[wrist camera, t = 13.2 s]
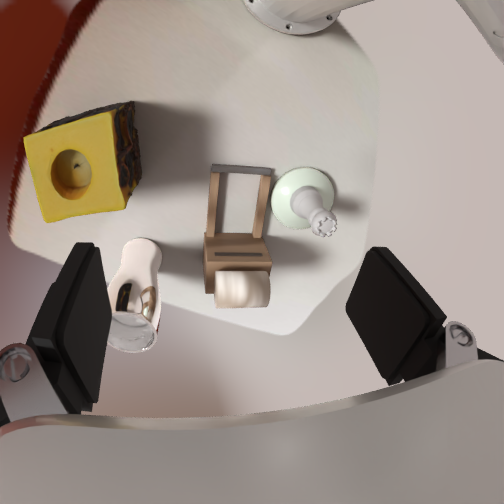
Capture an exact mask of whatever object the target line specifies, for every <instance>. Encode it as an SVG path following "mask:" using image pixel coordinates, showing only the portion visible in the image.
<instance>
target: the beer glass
mask: <svg viewBox="0 0 504 504" xmlns="http://www.w3.org/2000/svg"><path fill="white" fill-rule="evenodd" d="M161 262H162V253H161V250H160V248H159V247H158V246H157V245H156V244H155V243H154V242H153V241H151V240H148V239H145V238H136V239H132V240H130V241H129V242H127V243H126V244H125V246H124V247H123V250H122V255H121V265H120V267H119V269H118V271H117V272H116V274H115V276H114V277H113V279H112V281H111V282H110V284H109V286H108V288H107V291H108V295H109V300H110V304H111V308H112V321H111V326H110V331H109V336H108V341H107V344H109V345H110V346H111V347H113V348H115V349H117V350H120V351H123V352H129V353H139V352H144V351H146V350H149V349H150V348H152V347H153V346H154V345H155V343H156V341H157V334H158V328H159V322H160V313H161V296H160V288H159V282H158V269H159V267H160V265H161Z"/></svg>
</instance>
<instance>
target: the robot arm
mask: <svg viewBox="0 0 504 504" xmlns="http://www.w3.org/2000/svg"><path fill="white" fill-rule="evenodd" d="M252 1H253V3H250V2H249V0H243V2H244V3H245V5H246V7H247V9H248V10H249V11H250V12H251V14H252V15H253V16H254V17H255V18H256V19H258V20H259V21H260V22H261V23H263V24H264V25H266V26H268V27H269V28H272V29H274V30H277V31H279V32H283V33H287V34H295V35H302V34H310V33H314V32H318V31H320V30H323V29H325V28H326V27H328V26H330V25H331V24H332V23H333V22H334V21H335V20H336V19H337V17H338V16H339V14H340V11H341V10H344V9H346V8H350V7H353V6H356V5H360V4H363V3H366V2H370V1H373V0H252ZM456 1H457V2H458V4H460V6H461V7H462V8H463V10H464V11H465V12H466V14H467V15H468V16H469V18H470V19H471V20H472V22H473V23H474V24H475V26H476V27H477V29H478V30H479V32H480V33H481V34H482V36H483V37H484V39H485V40H486V41H487V43H488V44H489V46H490V47H491V49H492V50H493V52H494V53H495V54H496V56H497V57H498V58H499V59H500V61H501V62H502V63H503V64H504V0H456ZM326 17H327V18H328V20H327V18H326ZM286 26H288V27H289V29H287V28H286ZM346 313H347V315H348V317H349V318H350V320H351V322H352V324H353V325H354V327H355V329H356V331H357V332H358V334H359V336H360V338H361V339H362V341H363V343H364V345H365V347H366V349H367V350H368V352H369V354H370V356H371V358H372V360H373V361H374V363H375V365H376V367H377V369H378V371H379V373H380V375H381V376H382V378H384V379H386V381H387V383H388V385H389V386H390V385H394V384H397V383H400V381H401V380H402V379H404V381H405V382H404V383H401V384H397V385H394V386H391V387H387V388H383V389H380V390H376V391H372V392H369V393H365V394H361V395H357V396H353V397H348V398H344V399H340V400H335V401H331V402H325V403H320V404H315V405H310V406H304V407H298V408H292V409H286V410H278V411H271V412H263V413H254V414H245V415H234V416H220V417H201V418H132V417H113V416H96V415H81V411H89V412H92V406H93V403H97V402H98V398H99V390H100V383H101V375H102V369H103V363H104V357H105V351H106V346H107V341H108V336H109V331H110V326H111V321H112V308H111V304H110V300H109V295H108V291H107V286H106V281H105V276H104V271H103V266H102V260H101V254H100V249H99V248H98V247H95V246H94V244H93V243H84V242H78V243H76V244H75V245H74V247H73V249H72V251H71V252H70V254H69V256H68V258H67V260H66V262H65V264H64V266H63V268H62V269H61V272H60V273H59V276H58V278H57V280H56V282H54V283H52V285H51V287H50V289H49V291H48V293H47V295H46V297H45V299H44V301H43V303H42V306H41V308H40V310H39V312H38V315H37V317H36V320H35V322H34V324H33V326H32V329H31V332H30V334H29V336H28V339H27V342H26V344H23V343H13V344H10V345H8V346H6V347H4V348H3V349H1V351H0V504H504V361H503V360H500V359H499V358H497V357H495V356H493V355H491V354H489V353H487V352H485V351H482V350H481V349H478V348H477V345H476V339H475V336H474V335H473V333H472V332H471V330H470V329H469V328H467V327H466V326H465V325H463V324H462V323H459V322H456V321H451V322H449V323H448V324H447V325H446V326H445V328H444V327H443V326H442V324H443V322H444V321H445V320H446V318H447V316H446V315H445V314H444V312H443V311H442V310H441V309H440V307H439V306H438V305H437V304H436V303H435V301H434V300H433V299H432V298H431V296H430V295H429V294H428V293H427V292H426V291H425V289H424V288H423V287H422V286H421V285H420V283H419V282H418V281H417V280H416V279H415V278H414V277H413V276H412V274H411V273H410V272H409V271H408V270H407V269H406V268H405V266H404V265H403V264H402V263H401V262H400V261H399V260H398V259H397V258H396V257H395V256H394V254H393V253H392V252H391V251H390V250H389V249H388V248H387V247H372V248H371V249H370V250H369V251H368V252H367V253H366V255H365V258H364V261H363V263H362V266H361V269H360V271H359V274H358V276H357V279H356V281H355V284H354V286H353V289H352V291H351V293H350V296H349V298H348V301H347V303H346Z"/></svg>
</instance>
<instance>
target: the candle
mask: <svg viewBox="0 0 504 504" xmlns="http://www.w3.org/2000/svg"><path fill="white" fill-rule="evenodd" d="M134 107H135V106H134V102H133V101H129V102H125V103H117V104H112V105H108V106H105V107H100V108H96V109H93V110H89V111H86V112H83V113H81V114H78V115H75V116H72V117H65V118H63V119H61V120H57V121H54V122H52V123H51V124H49V125H47V126H46V127H43V128H42V129H40V130H39V131H37V132H34V133H33V134H31V135H28V136H26V137H24V144H25V150H26V154H27V159H28V163H29V167H30V170H31V174H32V178H33V182H34V186H35V190H36V194H37V199H38V202H39V205H40V209H41V212H42V215H43V219H44V221H45V222H46V223H51V222H56V221H60V220H63V219H66V218H70V217H75V216H81V215H88V214H93V213H100V212H110V211H118V210H124V209H125V208H126V205H127V202H128V199H129V197H130V196H132V192H133V190H134V188H135V187H136V186H137V185H138V183H139V180H140V179H141V177H142V170H141V163H140V150H139V145H138V135H137V134H136V133H137V130H136V129H135V128H134V126H133V122H134V113H135V110H134Z"/></svg>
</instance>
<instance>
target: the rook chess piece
mask: <svg viewBox="0 0 504 504" xmlns="http://www.w3.org/2000/svg"><path fill="white" fill-rule="evenodd" d="M290 207H291V209H292V211H293V212H294V213H295V214H296V215H297V216H298V217H300V218H304V219H308V220H309V224H310V225H311V229H312V231H313V233H315V234H316V235H319V236H321V237H325V235H327V236H328V237H329V236H331V235H332V234H331V232H332V231H334V232H335V231H336V229H337V228H336V227H335V226H336V225H337V223H336V221H337V219H336V216H335V215H334V214H333V213H332V212H329V211H328V210H327V209H326V208H323V199H322V197H321V194H320V193H319V191H318V190H317V189H315V188H314V187H311V186H302V187H300V188H298V189H297V190H296V191H295V192H294V193H293V194H292V196H291V198H290Z"/></svg>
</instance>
